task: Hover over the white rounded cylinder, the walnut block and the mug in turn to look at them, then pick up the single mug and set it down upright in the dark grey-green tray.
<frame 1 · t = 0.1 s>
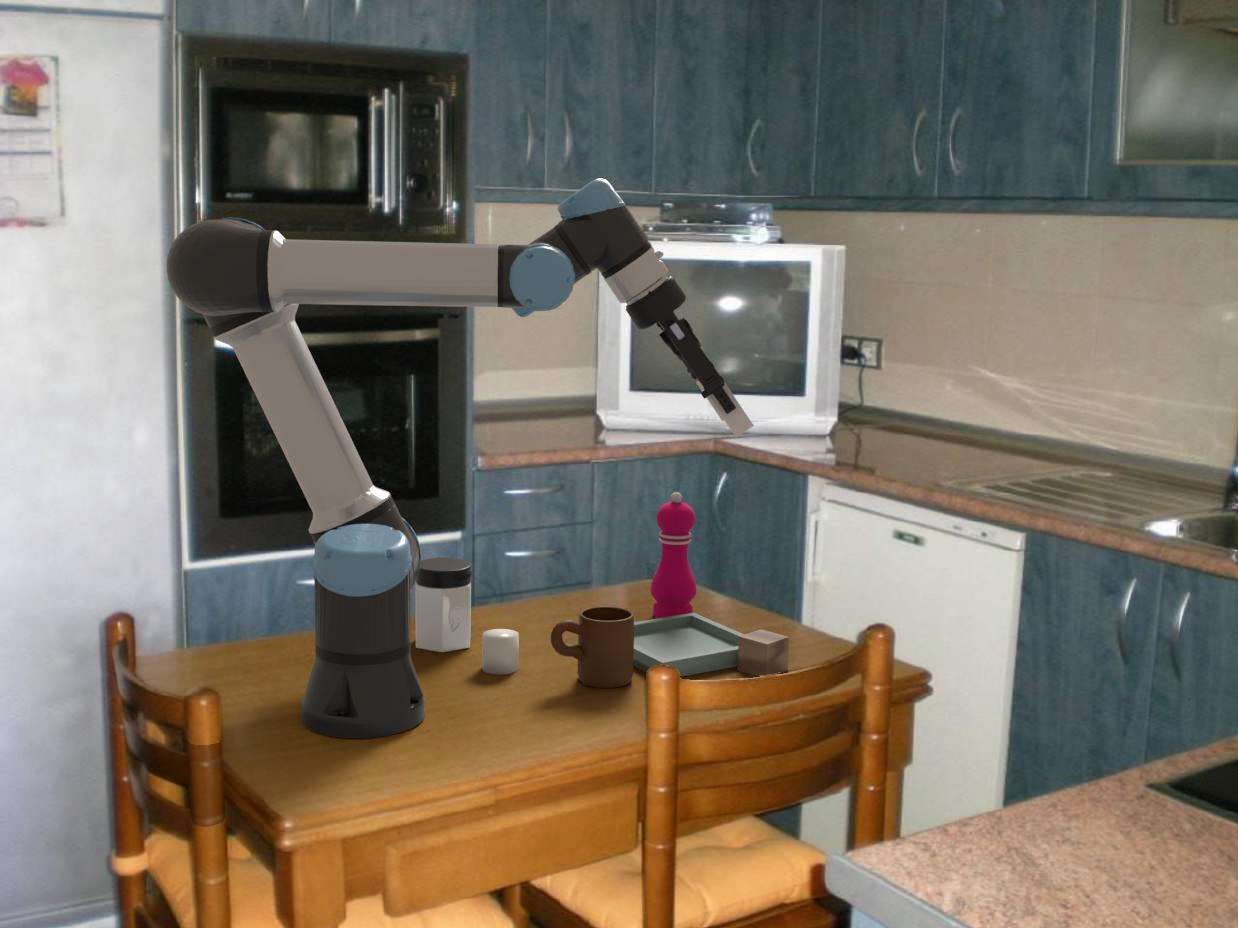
hand: (737, 423, 190), 36 cm above the table, tool tilted 35°, fingers open, 13 cm apart
jar: (443, 644, 211), on the table
block: (762, 670, 202), on the table
mug: (590, 683, 195), on the table
white rounded cylinder: (500, 668, 200), on the table
tray: (678, 652, 209), on the table
pepper mill: (672, 617, 228), on the table
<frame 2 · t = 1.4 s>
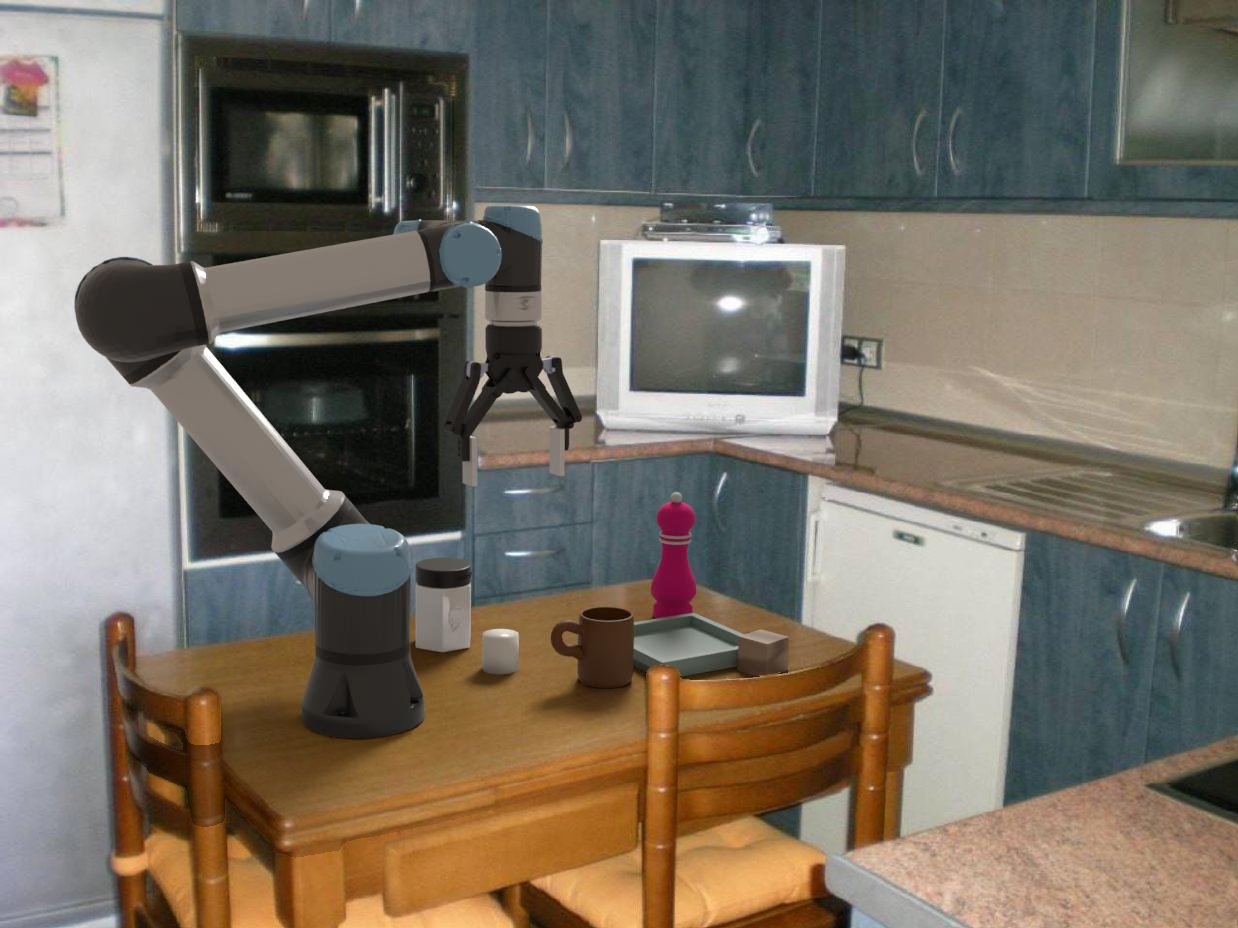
hand: (514, 479, 195), 27 cm above the table, tool pointing down, fingers open, 13 cm apart
nothing on the table moved.
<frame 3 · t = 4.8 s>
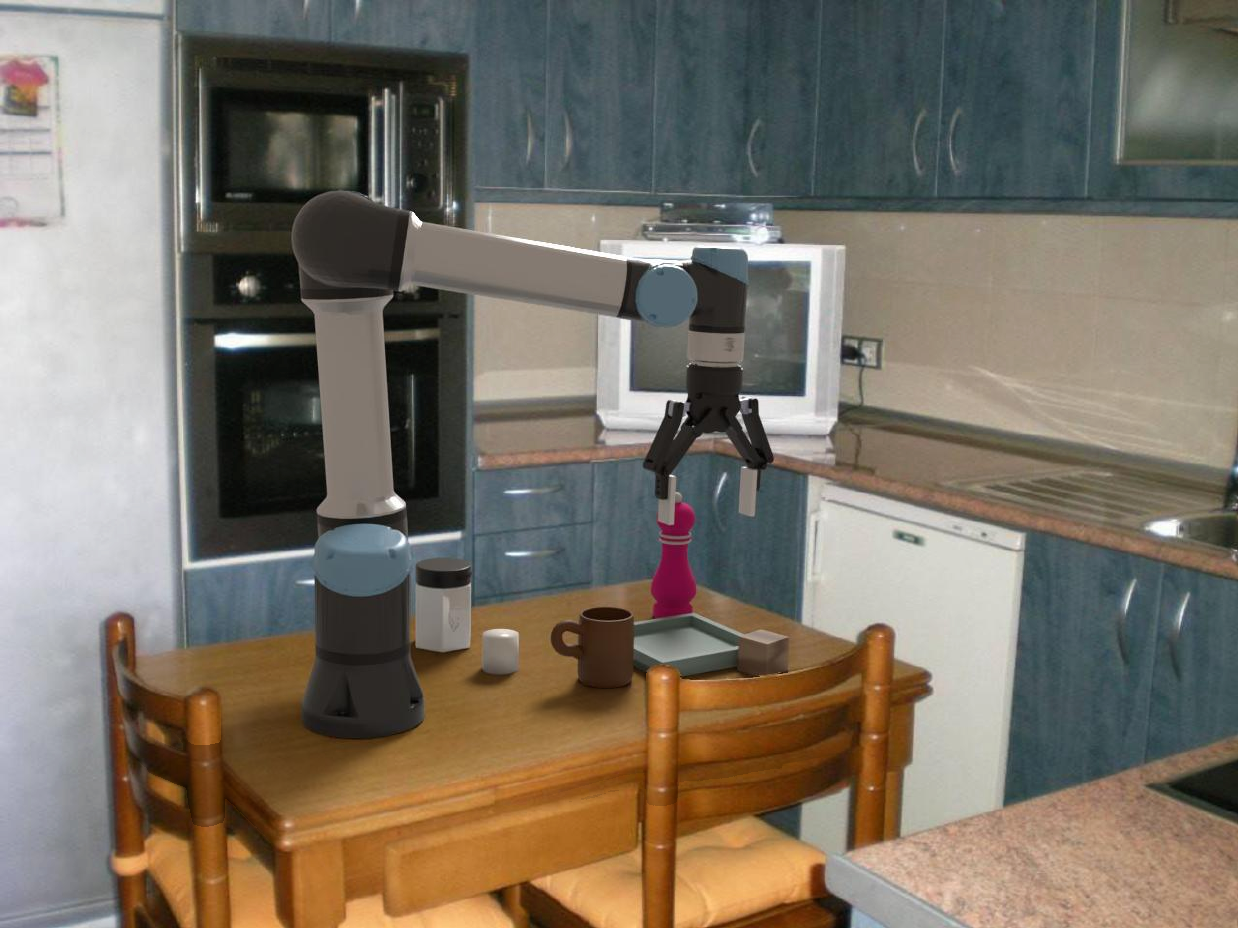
hand: (706, 518, 196), 22 cm above the table, tool pointing down, fingers open, 13 cm apart
nothing on the table moved.
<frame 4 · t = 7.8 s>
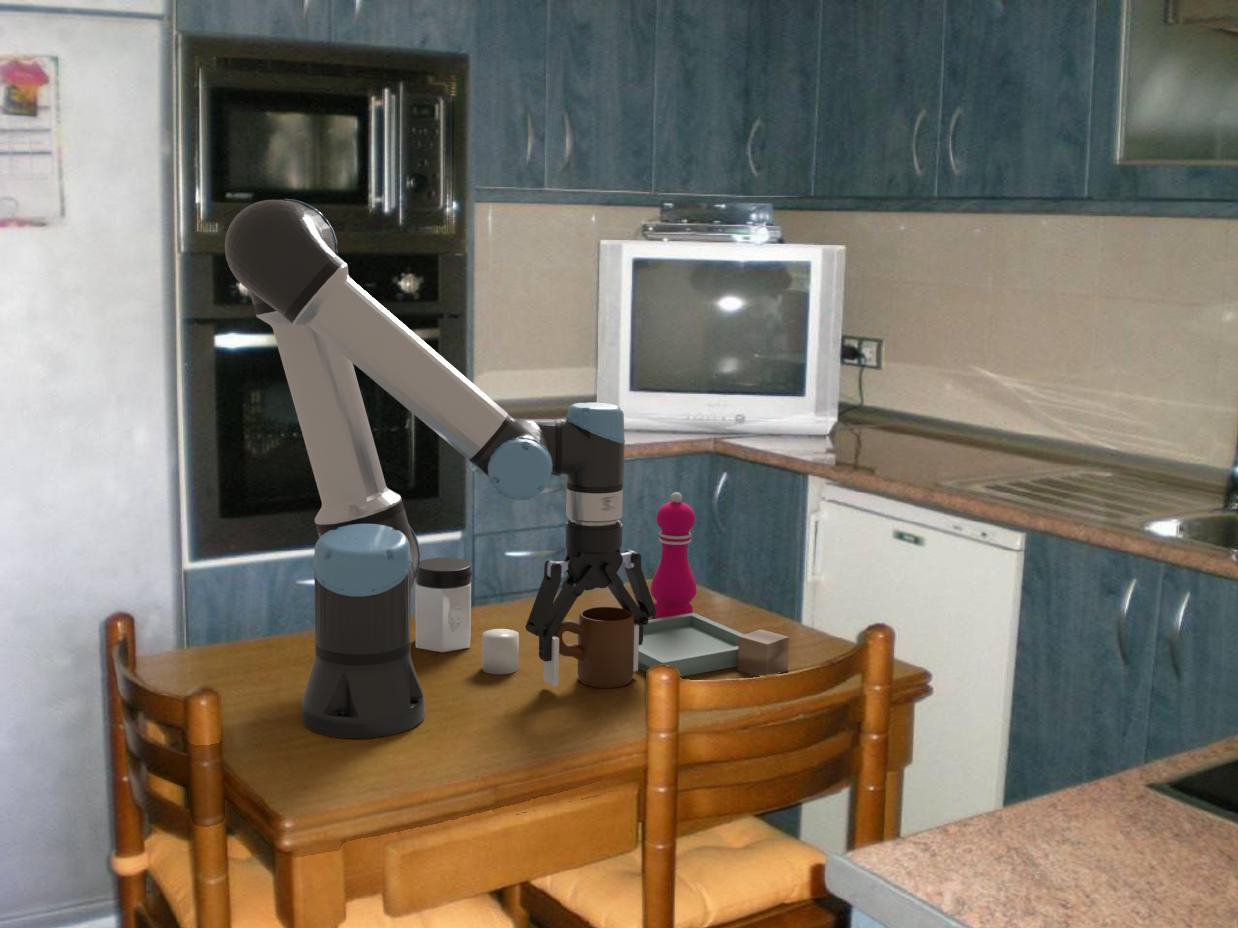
hand: (591, 675, 195), 1 cm above the table, tool pointing down, fingers closed on mug, 12 cm apart
mug: (590, 683, 195), on the table, touching gripper
everything else where it was.
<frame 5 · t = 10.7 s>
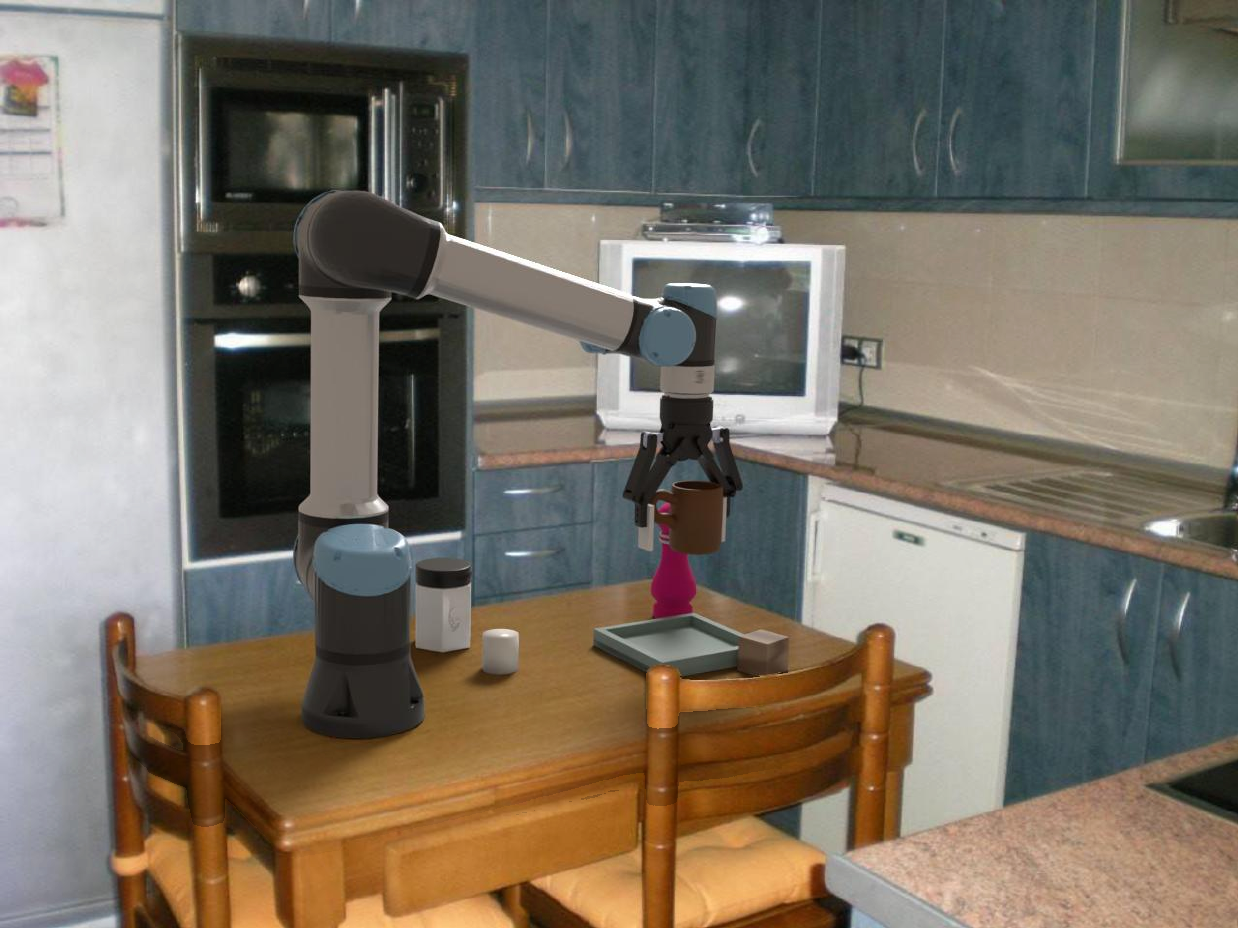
hand: (682, 544, 206), 16 cm above the table, tool pointing down, fingers closed on mug, 12 cm apart
mug: (681, 551, 206), point 15 cm above the table, touching gripper
everything else where it was.
when the fingers open (3 cm above the table, at t = 13.7 s): mug drops 1 cm, resting on tray.
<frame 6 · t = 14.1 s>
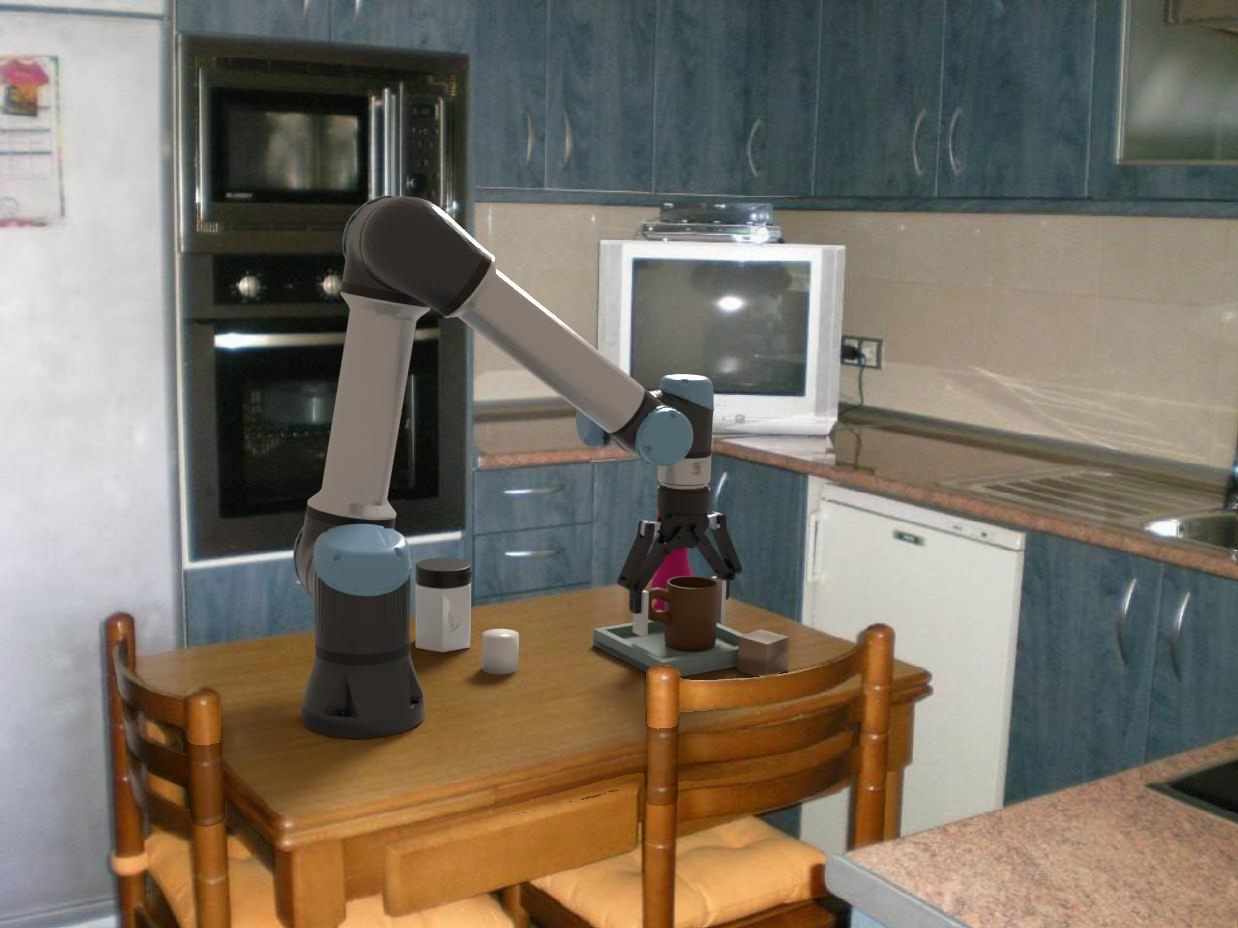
hand: (679, 628, 208), 4 cm above the table, tool pointing down, fingers open, 13 cm apart
mug: (676, 647, 209), point 1 cm above the table, touching tray
everything else where it was.
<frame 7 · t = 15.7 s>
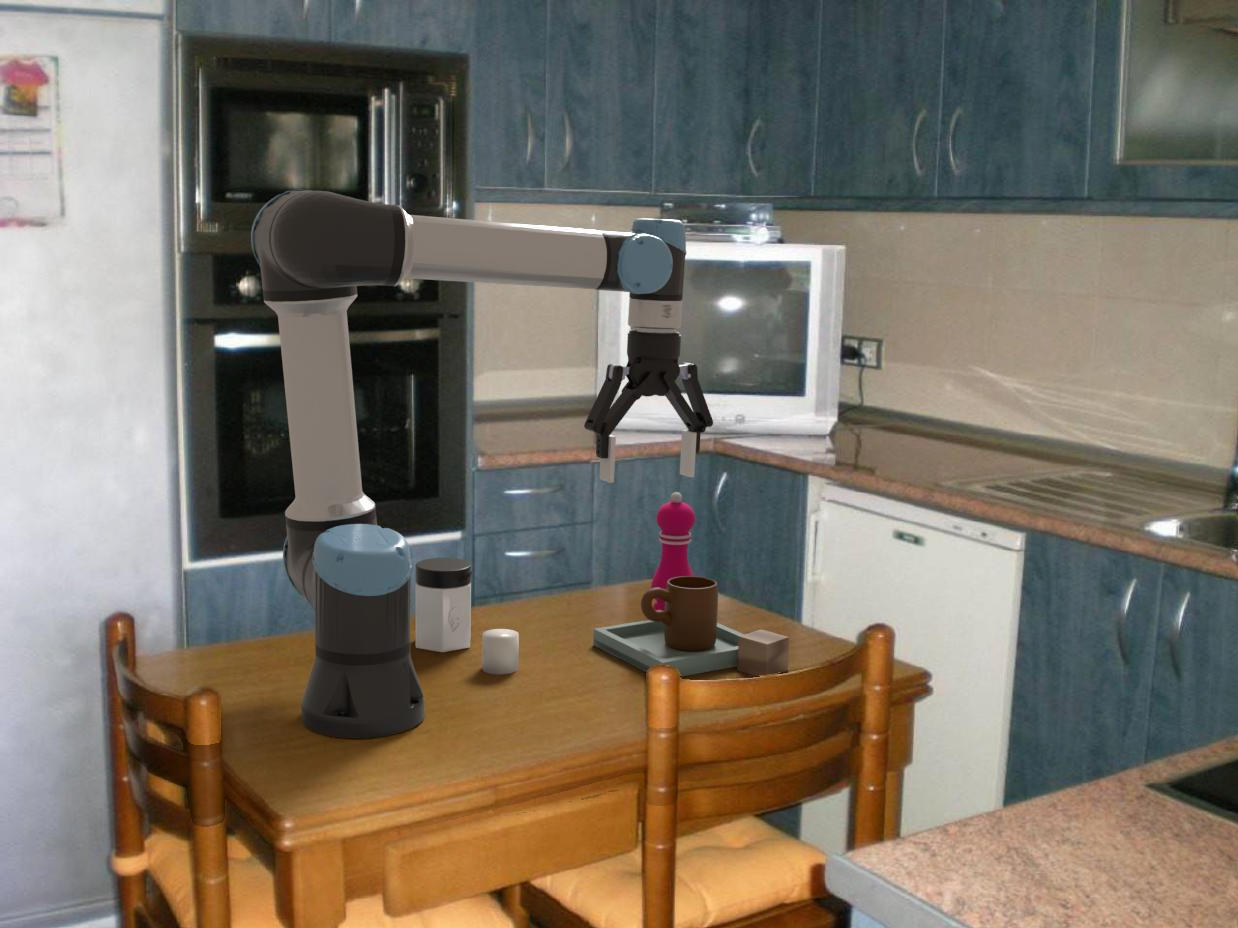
hand: (647, 478, 206), 25 cm above the table, tool pointing down, fingers open, 13 cm apart
nothing on the table moved.
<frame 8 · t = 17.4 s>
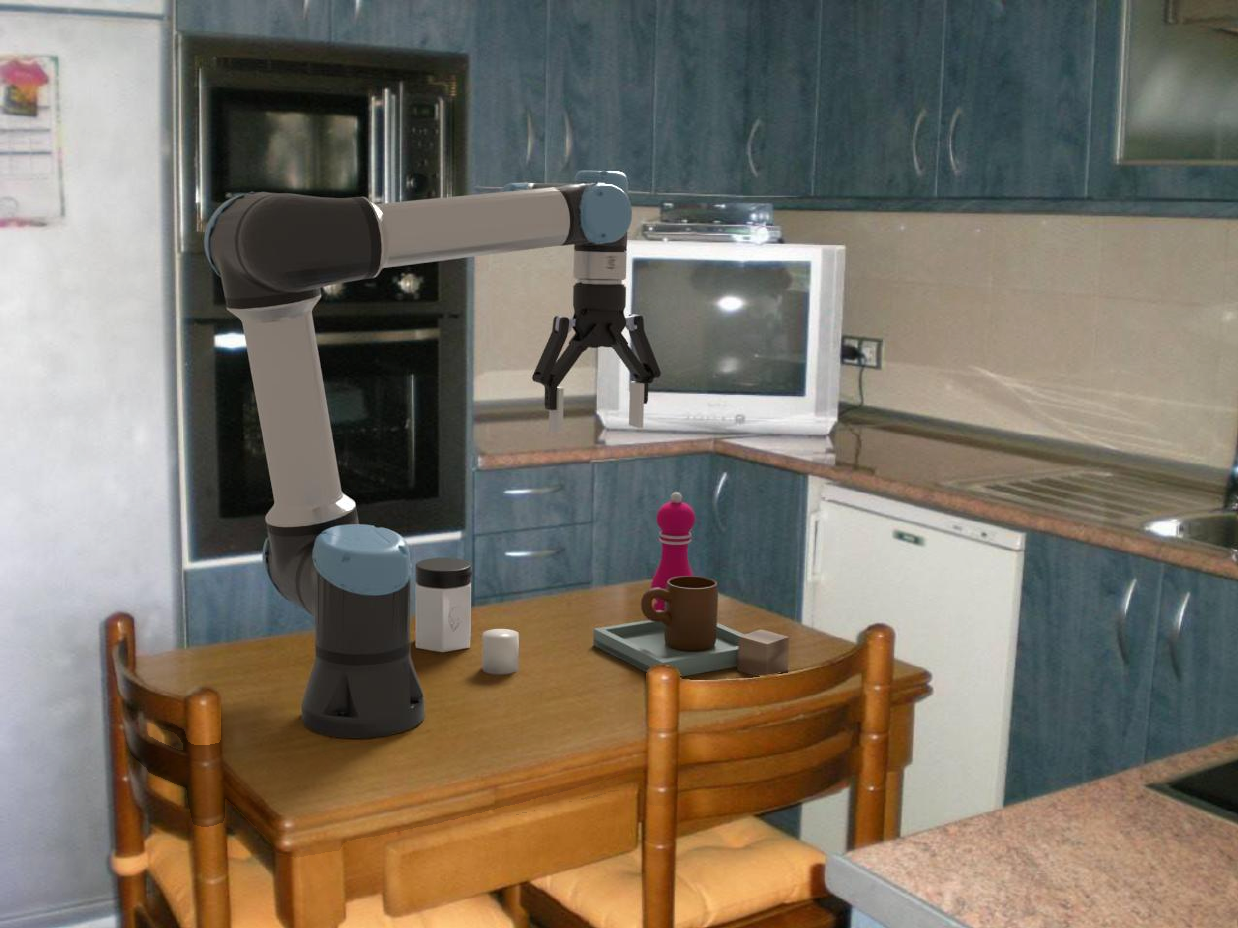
hand: (596, 429, 208), 32 cm above the table, tool pointing down, fingers open, 13 cm apart
nothing on the table moved.
at the end: mug inside the target area on the tray (0.3 cm from its centre), point 0.8 cm above the tray's base; mug tilted 0°; the gripper is holding nothing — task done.
